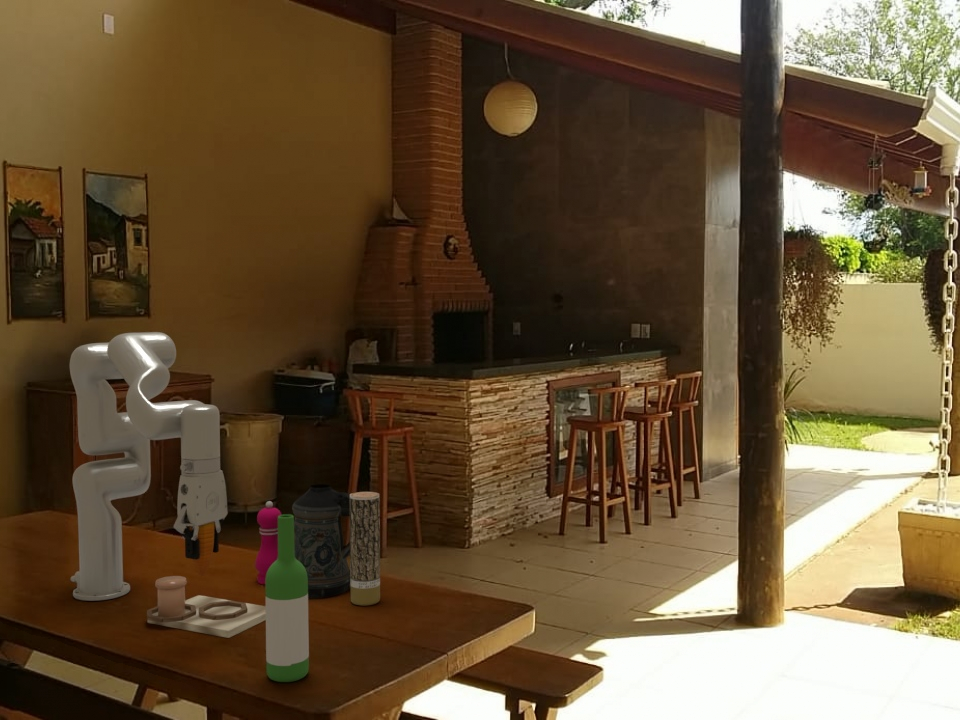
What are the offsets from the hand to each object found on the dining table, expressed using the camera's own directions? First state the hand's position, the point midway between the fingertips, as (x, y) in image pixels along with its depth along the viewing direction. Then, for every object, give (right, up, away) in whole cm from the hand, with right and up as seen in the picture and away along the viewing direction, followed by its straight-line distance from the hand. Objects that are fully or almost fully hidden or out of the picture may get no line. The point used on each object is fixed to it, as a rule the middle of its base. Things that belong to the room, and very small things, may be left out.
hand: (202, 554), depth 193 cm
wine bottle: (+21, -19, -17) cm, 33 cm away
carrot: (0, -5, 0) cm, 5 cm away
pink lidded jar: (-10, -16, +13) cm, 23 cm away
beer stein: (+18, -16, +37) cm, 45 cm away
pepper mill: (+4, -16, +43) cm, 46 cm away
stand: (-3, -17, +14) cm, 22 cm away
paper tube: (+30, -17, +27) cm, 43 cm away
